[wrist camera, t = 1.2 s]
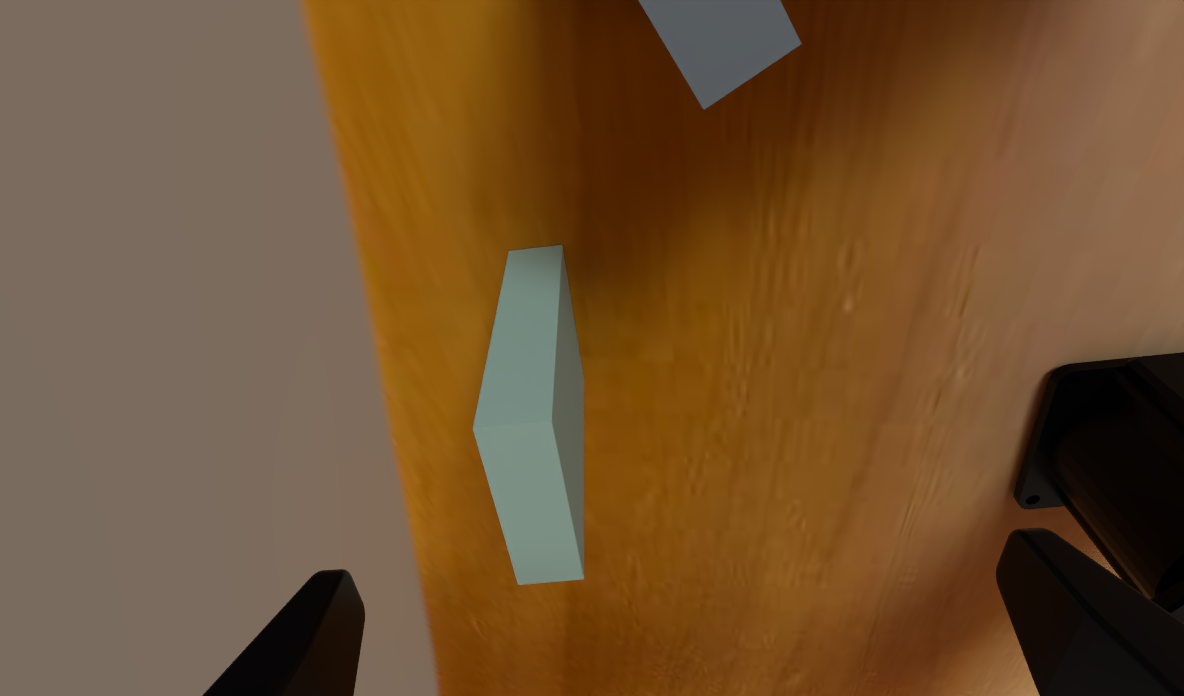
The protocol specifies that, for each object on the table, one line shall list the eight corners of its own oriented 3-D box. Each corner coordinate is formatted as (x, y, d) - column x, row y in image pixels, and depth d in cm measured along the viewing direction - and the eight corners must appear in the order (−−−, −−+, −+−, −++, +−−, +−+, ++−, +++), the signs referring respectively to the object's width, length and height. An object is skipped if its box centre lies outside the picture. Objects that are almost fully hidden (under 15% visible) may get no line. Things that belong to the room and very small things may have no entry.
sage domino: (561, 244, 20) (551, 420, 14) (583, 379, 23) (584, 579, 16) (508, 250, 20) (472, 428, 14) (536, 383, 23) (518, 585, 17)
